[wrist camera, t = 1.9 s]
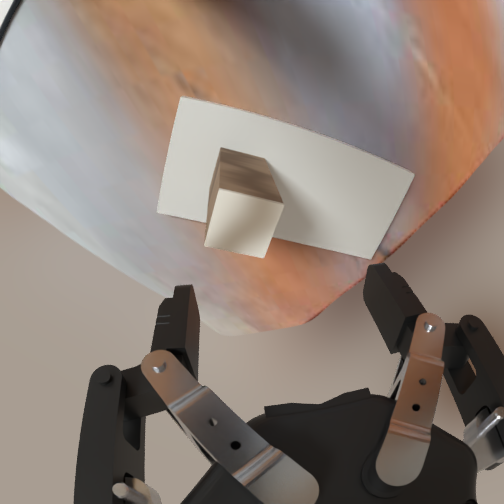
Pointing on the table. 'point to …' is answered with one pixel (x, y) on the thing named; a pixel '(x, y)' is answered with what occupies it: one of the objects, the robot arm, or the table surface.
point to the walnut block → (242, 204)
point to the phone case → (6, 13)
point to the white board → (286, 176)
